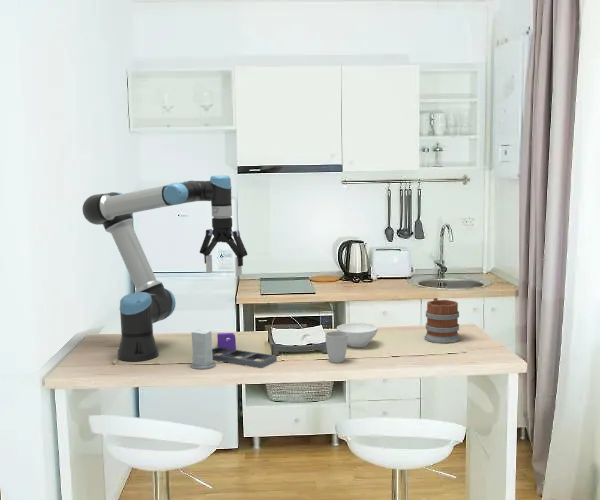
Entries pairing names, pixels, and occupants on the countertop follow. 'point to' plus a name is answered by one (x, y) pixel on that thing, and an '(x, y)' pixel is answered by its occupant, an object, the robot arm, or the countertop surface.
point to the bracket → (226, 340)
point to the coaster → (203, 366)
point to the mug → (442, 321)
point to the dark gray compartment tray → (243, 357)
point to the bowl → (358, 333)
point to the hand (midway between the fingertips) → (223, 273)
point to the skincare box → (202, 347)
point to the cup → (336, 345)
